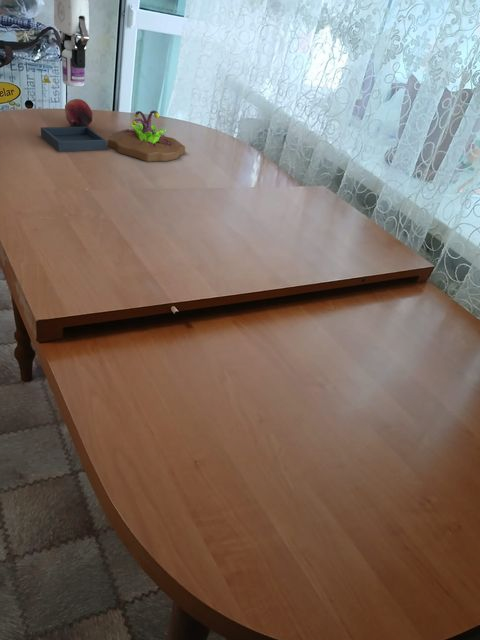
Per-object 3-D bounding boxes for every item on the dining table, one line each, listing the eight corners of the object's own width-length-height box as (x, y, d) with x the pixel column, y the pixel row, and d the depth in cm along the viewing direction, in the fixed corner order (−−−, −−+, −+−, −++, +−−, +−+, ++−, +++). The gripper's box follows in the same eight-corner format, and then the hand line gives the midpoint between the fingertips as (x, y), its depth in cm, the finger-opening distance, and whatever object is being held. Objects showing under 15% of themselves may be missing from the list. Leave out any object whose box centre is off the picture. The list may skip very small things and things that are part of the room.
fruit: (85, 124, 166) (85, 96, 162) (97, 132, 162) (97, 104, 157) (60, 124, 162) (60, 95, 157) (71, 133, 157) (71, 103, 153)
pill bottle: (87, 84, 142) (87, 43, 136) (81, 88, 137) (80, 46, 132) (66, 80, 141) (65, 38, 136) (59, 84, 137) (58, 41, 131)
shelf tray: (58, 151, 144) (58, 141, 142) (41, 136, 150) (40, 127, 149) (106, 149, 152) (106, 140, 150) (87, 135, 158) (87, 126, 157)
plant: (152, 166, 148) (155, 124, 142) (97, 144, 154) (97, 102, 147) (194, 154, 163) (198, 115, 157) (143, 134, 169) (145, 95, 162)
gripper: (41, -31, 128) (44, 54, 139) (72, -17, 119) (73, 73, 130) (71, -26, 133) (72, 56, 143) (104, -13, 123) (102, 74, 134)
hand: (73, 63), depth 136 cm, fingers closed on pill bottle, 5 cm apart
